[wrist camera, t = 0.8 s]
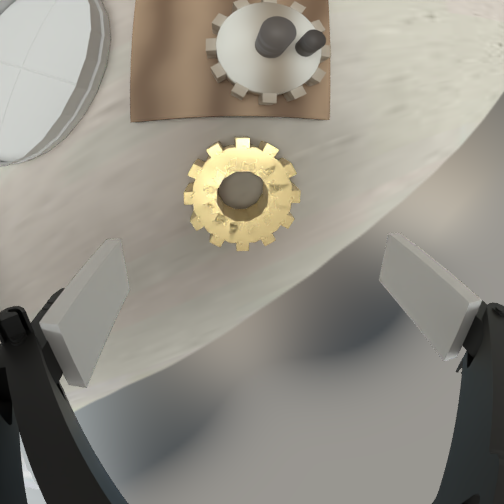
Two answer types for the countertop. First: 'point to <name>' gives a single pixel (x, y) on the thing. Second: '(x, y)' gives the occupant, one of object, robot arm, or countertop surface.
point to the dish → (47, 71)
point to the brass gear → (254, 217)
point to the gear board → (189, 70)
